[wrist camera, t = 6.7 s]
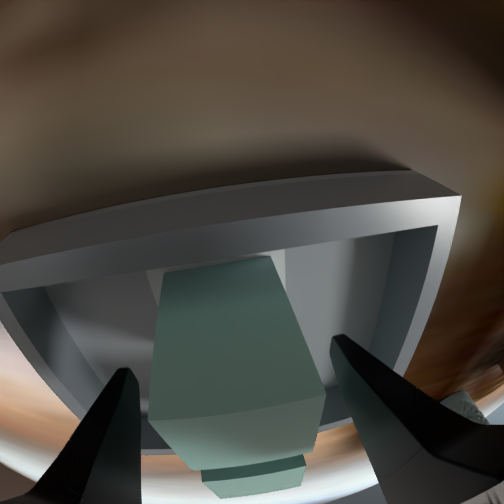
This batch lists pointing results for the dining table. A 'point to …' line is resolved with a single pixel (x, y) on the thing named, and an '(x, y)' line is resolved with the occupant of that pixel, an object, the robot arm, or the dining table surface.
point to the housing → (224, 251)
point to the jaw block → (232, 368)
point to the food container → (502, 364)
